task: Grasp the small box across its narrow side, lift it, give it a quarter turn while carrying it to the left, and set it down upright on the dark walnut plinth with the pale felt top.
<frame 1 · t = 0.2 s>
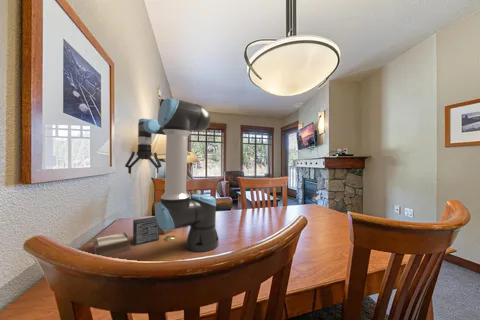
hand: (143, 178, 117), 28 cm above the table, fingers open, 13 cm apart
brass disc: (170, 239, 95), on the table
walnut block: (164, 232, 103), on the table
small box: (145, 241, 92), on the table
plinth: (111, 248, 83), on the table
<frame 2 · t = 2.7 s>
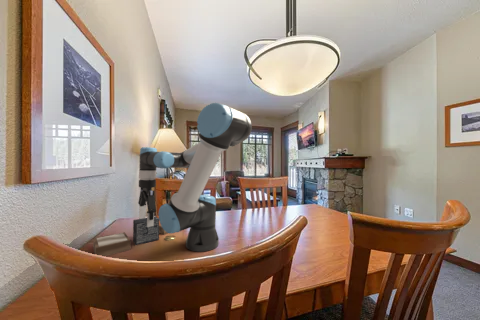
hand: (145, 222, 93), 9 cm above the table, fingers open, 13 cm apart
nothing on the table moved.
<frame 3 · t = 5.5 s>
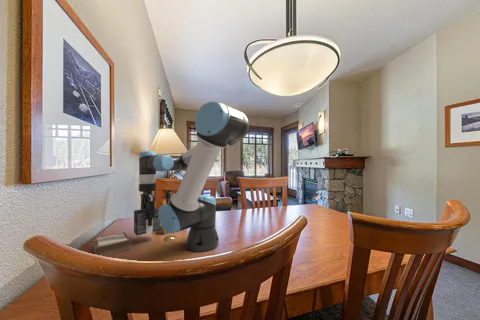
hand: (147, 230, 92), 5 cm above the table, fingers closed on small box, 6 cm apart
small box: (146, 231, 92), point 4 cm above the table, touching gripper
everything else where it was.
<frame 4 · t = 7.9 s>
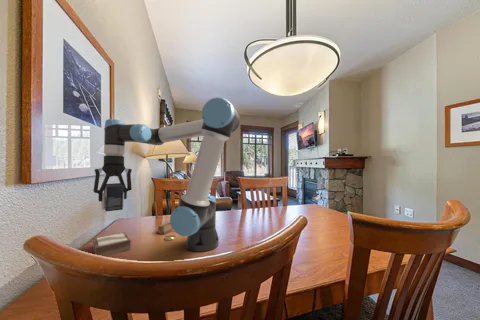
hand: (112, 207, 83), 18 cm above the table, fingers closed on small box, 6 cm apart
small box: (112, 208, 83), point 17 cm above the table, touching gripper
everything else where it was.
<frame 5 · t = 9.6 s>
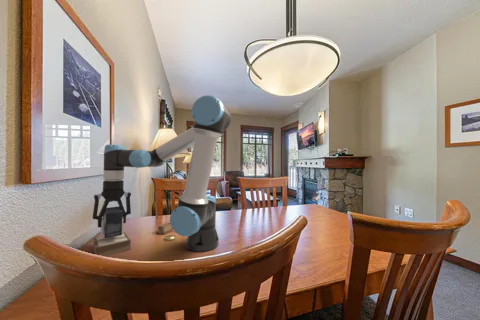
hand: (111, 232, 83), 7 cm above the table, fingers closed on small box, 6 cm apart
small box: (111, 233, 83), point 7 cm above the table, touching gripper
everything else where it was.
when the fingers open (5 cm above the table, at t = 10.8 s): small box stays where it is, resting on plinth.
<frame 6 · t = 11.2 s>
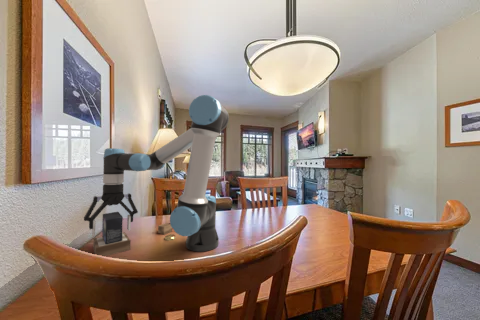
hand: (112, 232, 83), 7 cm above the table, fingers open, 12 cm apart
small box: (111, 239, 83), point 4 cm above the table, touching plinth
everything else where it was.
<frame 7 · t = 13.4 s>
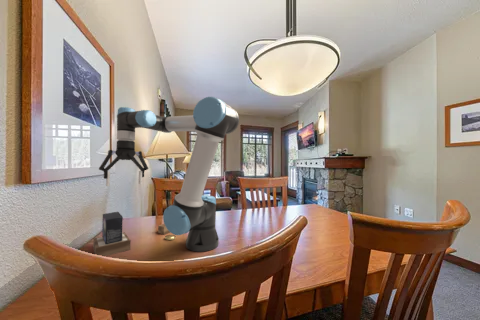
hand: (124, 185, 91), 27 cm above the table, fingers open, 13 cm apart
nothing on the table moved.
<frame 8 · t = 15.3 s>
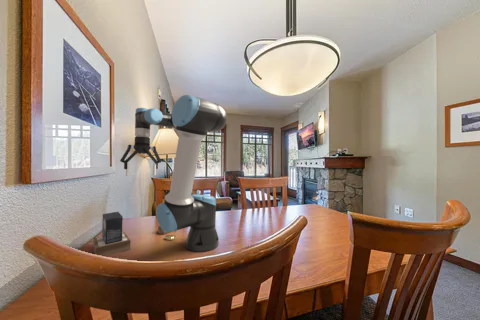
hand: (141, 175, 105), 31 cm above the table, fingers open, 13 cm apart
nothing on the table moved.
at the end: small box inside the target area on the plinth (0.0 cm from its centre), point 4.1 cm above the plinth's base; small box tilted 0°; the gripper is holding nothing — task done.
